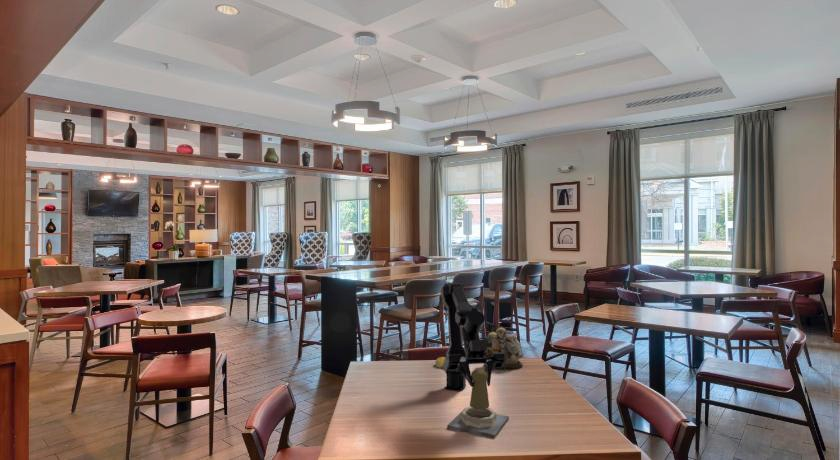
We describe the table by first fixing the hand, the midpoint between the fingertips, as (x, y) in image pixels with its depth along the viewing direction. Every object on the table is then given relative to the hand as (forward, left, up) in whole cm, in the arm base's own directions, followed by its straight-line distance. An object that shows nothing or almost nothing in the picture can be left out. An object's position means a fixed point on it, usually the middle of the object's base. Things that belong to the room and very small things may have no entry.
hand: (480, 386), depth 146 cm
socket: (-1, +1, -12) cm, 12 cm away
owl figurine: (-12, +65, -12) cm, 67 cm away
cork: (-1, +1, -7) cm, 7 cm away
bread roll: (-34, +54, -13) cm, 65 cm away
